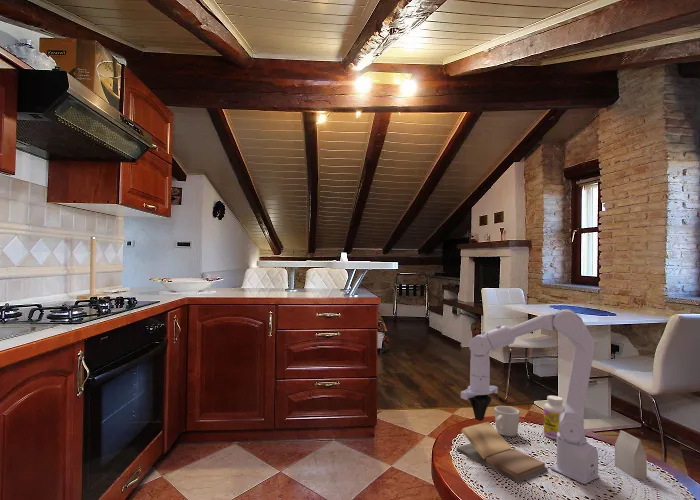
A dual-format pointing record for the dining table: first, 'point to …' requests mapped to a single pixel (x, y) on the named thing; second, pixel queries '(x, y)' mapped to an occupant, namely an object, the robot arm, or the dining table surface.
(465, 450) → the floor board
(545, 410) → the supplement bottle
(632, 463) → the beige gabled carton
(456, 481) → the dining table surface
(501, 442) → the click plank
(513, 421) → the cup
